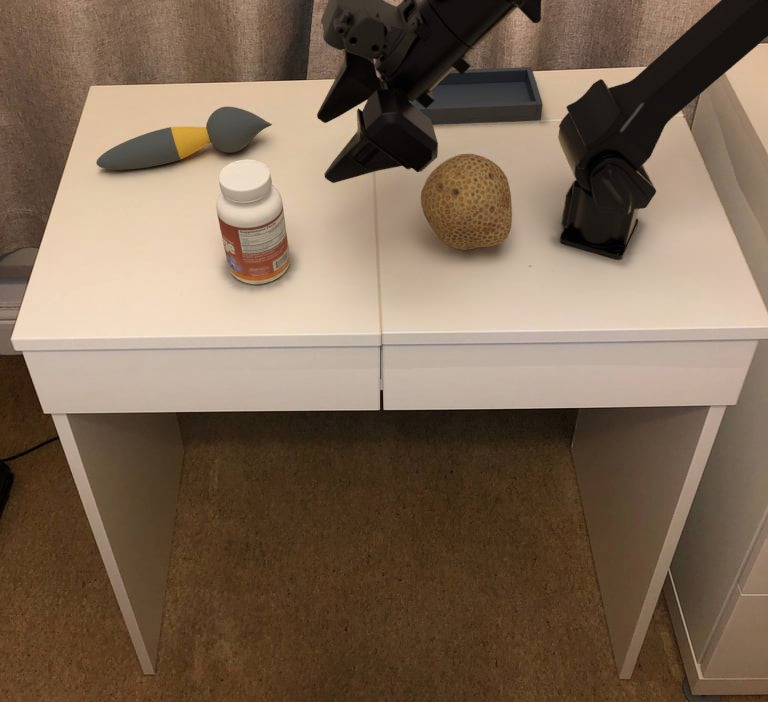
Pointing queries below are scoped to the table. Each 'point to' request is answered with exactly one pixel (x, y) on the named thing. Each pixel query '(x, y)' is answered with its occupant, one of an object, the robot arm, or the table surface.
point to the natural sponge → (468, 202)
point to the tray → (485, 97)
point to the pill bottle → (252, 222)
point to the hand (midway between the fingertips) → (324, 148)
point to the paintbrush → (185, 140)
